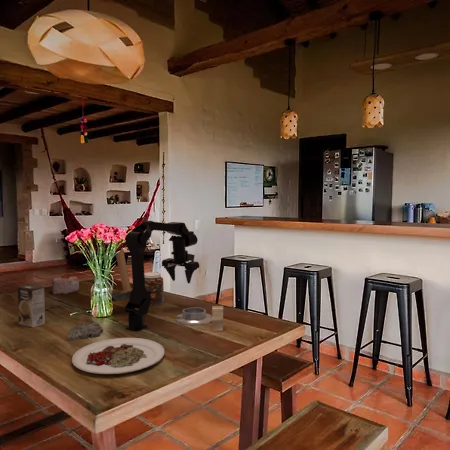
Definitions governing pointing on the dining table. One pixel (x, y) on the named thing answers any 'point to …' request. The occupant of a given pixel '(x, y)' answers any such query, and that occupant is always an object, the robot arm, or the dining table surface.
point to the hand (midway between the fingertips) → (181, 281)
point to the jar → (155, 288)
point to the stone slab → (85, 331)
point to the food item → (65, 285)
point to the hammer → (123, 278)
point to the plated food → (118, 355)
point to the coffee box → (31, 305)
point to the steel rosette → (194, 316)
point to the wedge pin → (217, 318)
